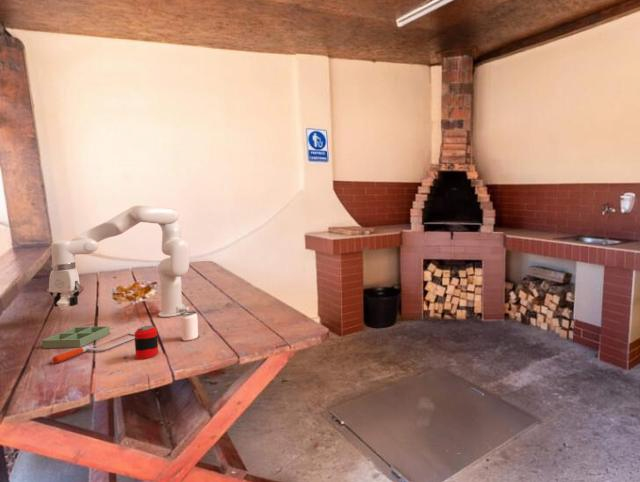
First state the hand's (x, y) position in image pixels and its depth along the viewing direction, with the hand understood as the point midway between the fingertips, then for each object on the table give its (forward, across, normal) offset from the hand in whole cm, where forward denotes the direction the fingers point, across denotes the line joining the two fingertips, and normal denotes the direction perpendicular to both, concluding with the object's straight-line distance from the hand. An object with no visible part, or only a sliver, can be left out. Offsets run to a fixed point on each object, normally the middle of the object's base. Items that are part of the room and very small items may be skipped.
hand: (66, 305), depth 180 cm
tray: (+17, +3, +1) cm, 18 cm away
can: (+18, +55, 0) cm, 58 cm away
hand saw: (+18, +22, -8) cm, 29 cm away
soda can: (+18, +48, -18) cm, 54 cm away
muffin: (+2, 0, 0) cm, 2 cm away
